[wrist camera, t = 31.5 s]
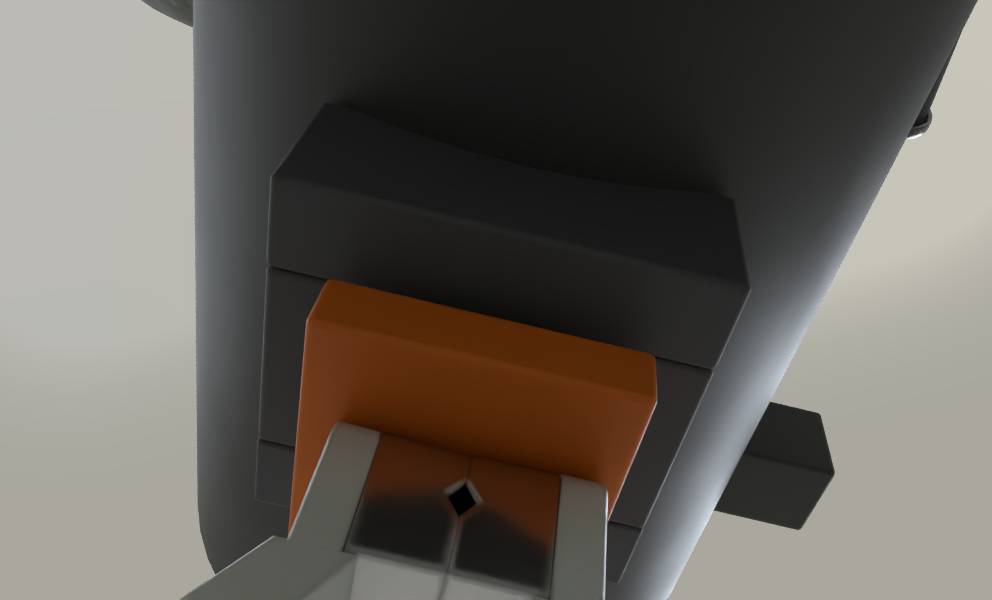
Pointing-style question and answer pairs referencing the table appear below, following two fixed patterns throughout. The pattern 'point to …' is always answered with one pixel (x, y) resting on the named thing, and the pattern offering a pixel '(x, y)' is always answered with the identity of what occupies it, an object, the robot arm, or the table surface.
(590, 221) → the kettle
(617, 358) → the kettle switch
